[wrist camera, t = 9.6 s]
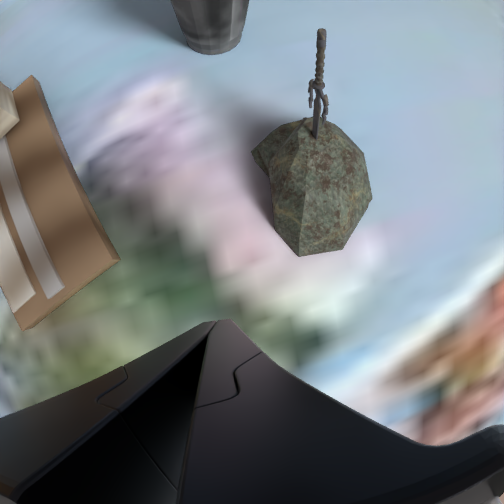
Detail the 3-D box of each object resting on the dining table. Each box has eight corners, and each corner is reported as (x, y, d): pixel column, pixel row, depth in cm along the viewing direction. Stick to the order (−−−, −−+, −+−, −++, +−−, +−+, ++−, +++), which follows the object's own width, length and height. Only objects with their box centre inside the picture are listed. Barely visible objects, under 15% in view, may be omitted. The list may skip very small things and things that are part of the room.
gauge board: (120, 259, 20) (110, 259, 18) (32, 327, 20) (19, 332, 18) (39, 82, 20) (29, 72, 18) (-30, 150, 19) (-42, 145, 17)
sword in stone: (388, 229, 21) (504, 208, 9) (291, 271, 21) (344, 294, 9) (333, 106, 21) (393, 3, 9) (235, 139, 21) (223, 30, 9)
